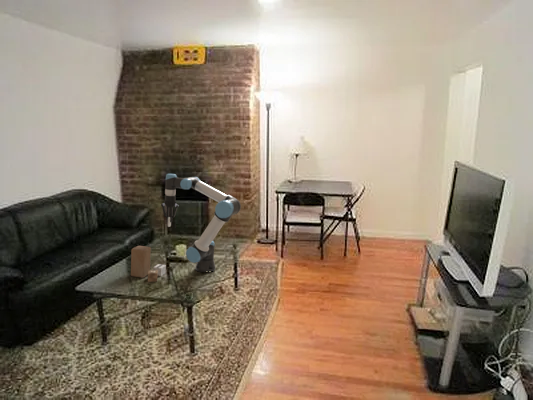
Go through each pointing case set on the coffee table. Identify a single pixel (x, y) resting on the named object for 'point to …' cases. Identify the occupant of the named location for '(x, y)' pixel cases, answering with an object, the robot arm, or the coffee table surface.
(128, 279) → the coffee table surface
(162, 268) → the striped grey block
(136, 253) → the block
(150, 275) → the marked walnut cube
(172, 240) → the coffee table surface
